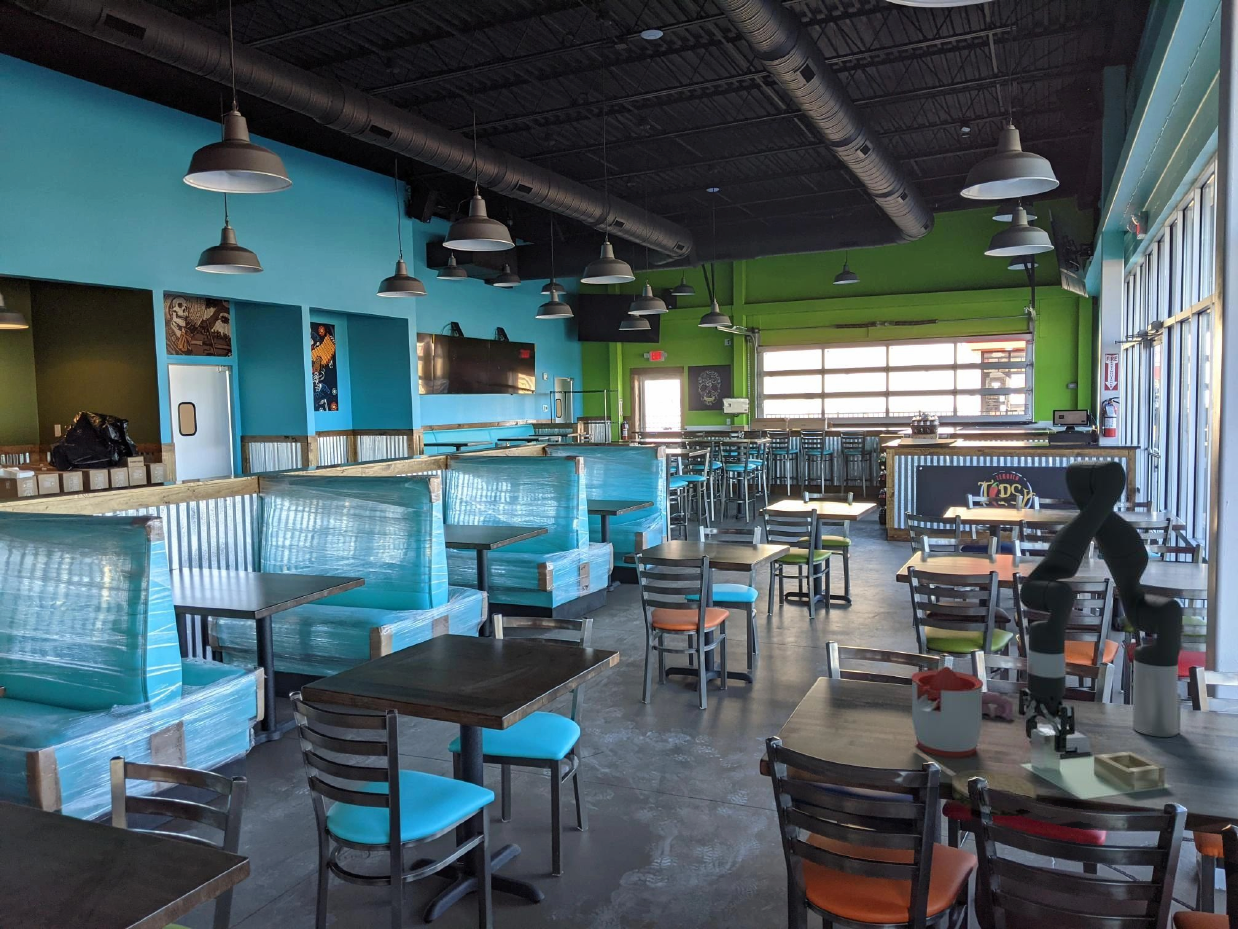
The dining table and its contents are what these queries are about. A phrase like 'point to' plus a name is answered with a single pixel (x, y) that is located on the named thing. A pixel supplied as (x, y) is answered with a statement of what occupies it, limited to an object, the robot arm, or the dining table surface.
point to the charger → (1072, 740)
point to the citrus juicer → (947, 711)
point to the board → (1082, 779)
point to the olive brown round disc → (991, 786)
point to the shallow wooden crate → (1129, 771)
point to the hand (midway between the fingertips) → (1045, 744)
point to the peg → (1044, 750)
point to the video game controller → (1000, 700)
